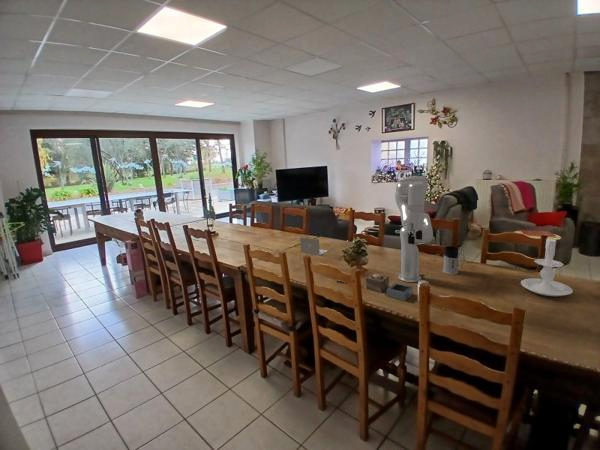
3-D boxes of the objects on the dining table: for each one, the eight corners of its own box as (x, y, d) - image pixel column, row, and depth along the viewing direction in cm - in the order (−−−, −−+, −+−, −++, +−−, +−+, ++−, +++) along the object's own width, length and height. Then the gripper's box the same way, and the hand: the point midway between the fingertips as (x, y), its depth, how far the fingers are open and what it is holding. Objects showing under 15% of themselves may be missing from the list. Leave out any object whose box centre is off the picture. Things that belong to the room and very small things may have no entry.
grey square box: (374, 283, 180) (374, 273, 179) (388, 286, 174) (388, 276, 173) (366, 288, 174) (366, 278, 172) (381, 292, 168) (380, 281, 166)
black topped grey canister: (450, 268, 196) (451, 245, 192) (469, 275, 182) (470, 251, 179) (439, 270, 193) (440, 247, 190) (457, 278, 180) (458, 253, 177)
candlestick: (578, 289, 158) (586, 235, 152) (566, 305, 143) (574, 247, 137) (529, 278, 174) (535, 229, 168) (514, 292, 159) (519, 239, 153)
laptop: (328, 251, 244) (328, 235, 242) (319, 256, 235) (318, 239, 232) (310, 248, 256) (309, 233, 253) (300, 252, 246) (299, 236, 243)
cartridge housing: (395, 289, 170) (395, 282, 169) (413, 294, 163) (413, 286, 163) (386, 296, 163) (386, 289, 162) (405, 301, 156) (405, 293, 155)
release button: (375, 283, 177) (375, 273, 175) (383, 285, 174) (383, 274, 172) (371, 285, 173) (371, 275, 172) (379, 287, 170) (379, 277, 169)
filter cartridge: (419, 298, 159) (420, 279, 157) (429, 300, 155) (430, 281, 153) (415, 301, 155) (416, 282, 153) (426, 304, 152) (426, 285, 150)
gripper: (415, 205, 163) (414, 236, 167) (401, 210, 151) (400, 244, 154) (430, 206, 158) (428, 238, 162) (416, 211, 146) (415, 246, 149)
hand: (415, 241), depth 158 cm, fingers open, 9 cm apart
